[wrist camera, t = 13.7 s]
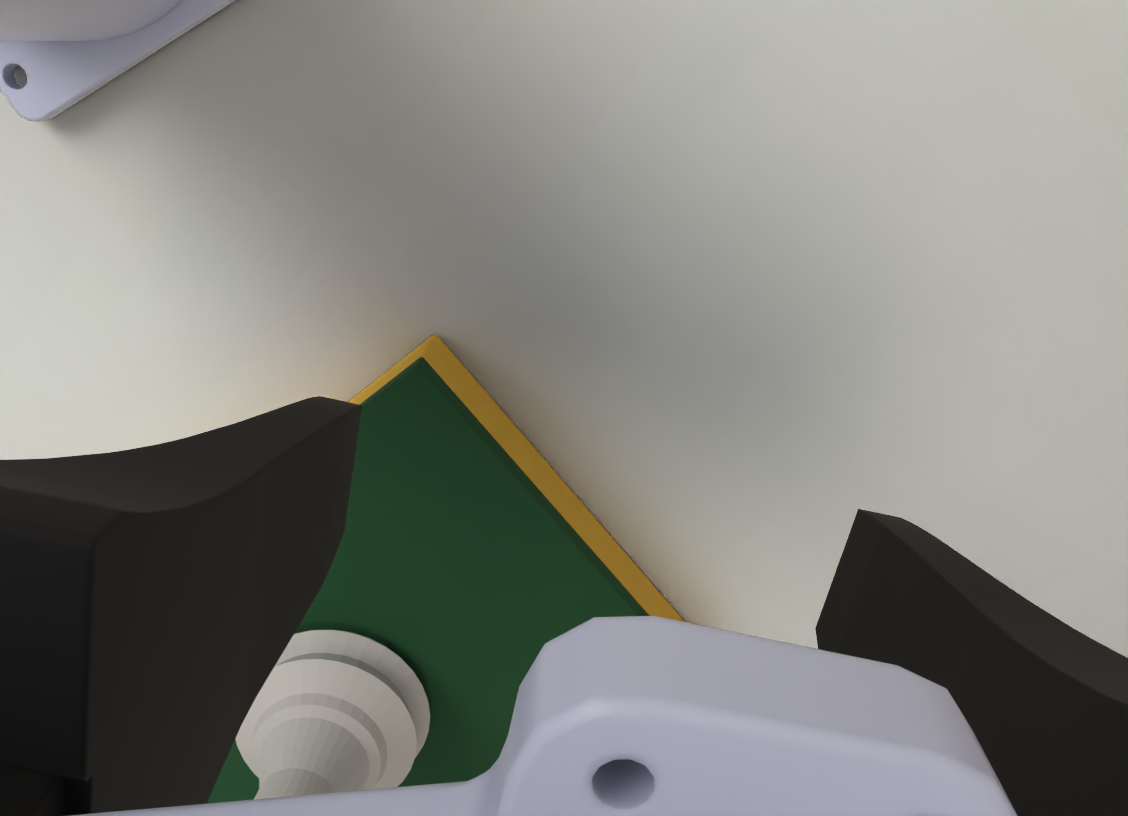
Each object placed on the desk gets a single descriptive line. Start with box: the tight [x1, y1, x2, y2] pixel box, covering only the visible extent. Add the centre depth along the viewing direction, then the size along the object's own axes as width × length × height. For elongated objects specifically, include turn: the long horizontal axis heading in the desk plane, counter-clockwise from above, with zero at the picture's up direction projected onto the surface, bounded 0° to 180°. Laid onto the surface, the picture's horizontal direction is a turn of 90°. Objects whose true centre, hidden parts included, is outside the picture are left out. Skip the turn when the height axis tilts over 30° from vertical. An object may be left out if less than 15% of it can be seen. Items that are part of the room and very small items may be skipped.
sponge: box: [207, 334, 685, 804], centre depth 25 cm, size 11×15×2 cm
